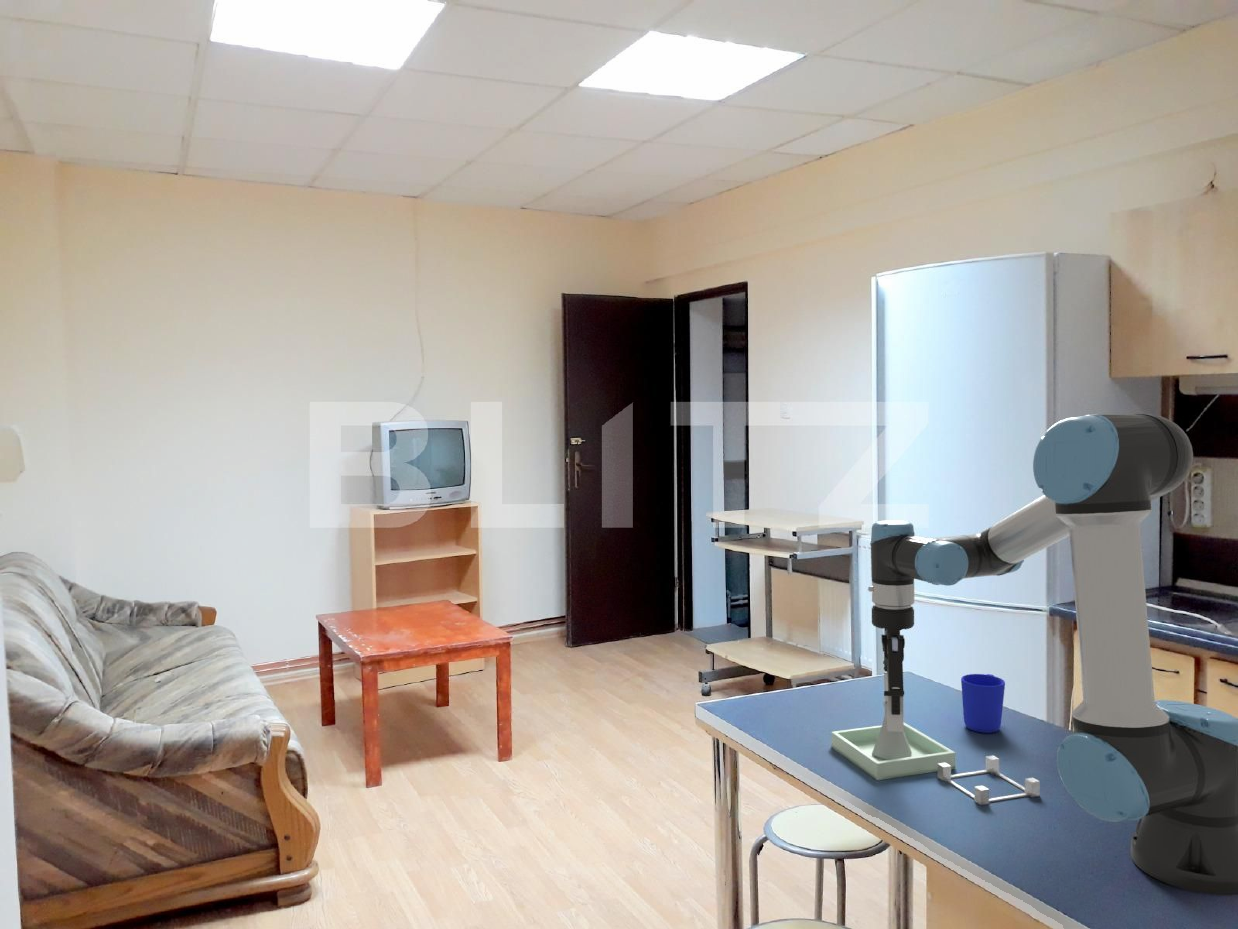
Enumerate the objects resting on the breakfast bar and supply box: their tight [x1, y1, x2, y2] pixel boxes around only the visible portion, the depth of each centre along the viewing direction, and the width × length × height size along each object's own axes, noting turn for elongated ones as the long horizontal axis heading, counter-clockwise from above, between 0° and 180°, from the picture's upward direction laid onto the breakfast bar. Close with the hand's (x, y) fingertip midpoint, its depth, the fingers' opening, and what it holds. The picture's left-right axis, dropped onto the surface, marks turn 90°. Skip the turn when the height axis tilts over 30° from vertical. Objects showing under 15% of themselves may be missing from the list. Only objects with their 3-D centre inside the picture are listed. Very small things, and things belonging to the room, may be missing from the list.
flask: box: [872, 700, 912, 760], centre depth 170 cm, size 7×7×10 cm
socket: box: [937, 755, 1041, 806], centre depth 157 cm, size 12×12×2 cm
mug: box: [960, 673, 1006, 734], centre depth 186 cm, size 8×12×10 cm
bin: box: [830, 721, 956, 781], centre depth 170 cm, size 16×16×3 cm
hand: (893, 718), depth 169 cm, fingers open, 13 cm apart
